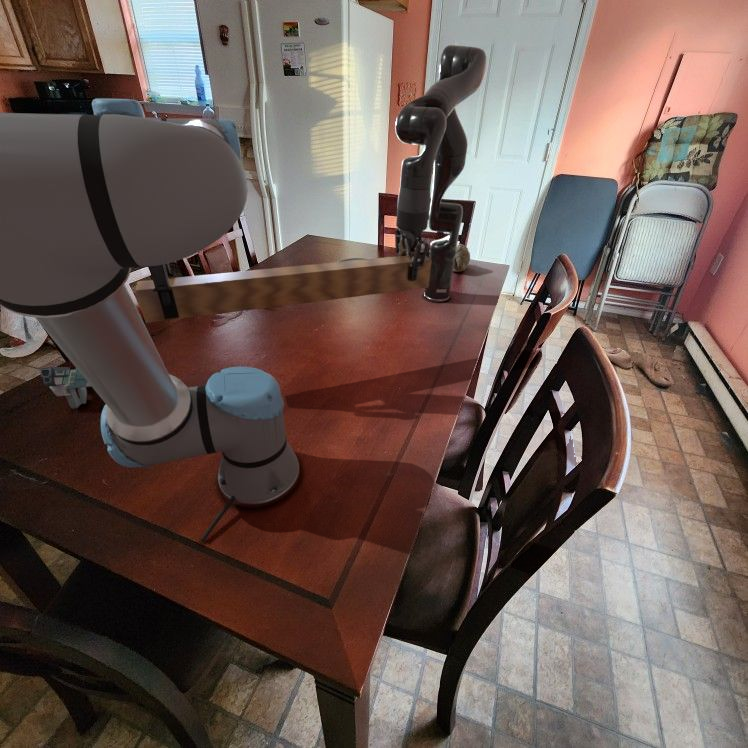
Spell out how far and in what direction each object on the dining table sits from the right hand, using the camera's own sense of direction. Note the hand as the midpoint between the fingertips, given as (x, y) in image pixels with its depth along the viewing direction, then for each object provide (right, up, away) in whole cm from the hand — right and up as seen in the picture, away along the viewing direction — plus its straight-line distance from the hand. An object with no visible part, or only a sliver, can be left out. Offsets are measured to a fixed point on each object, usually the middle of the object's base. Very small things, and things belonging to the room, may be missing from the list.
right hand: (407, 275), depth 107 cm
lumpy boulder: (+27, +20, +73) cm, 80 cm away
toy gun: (-78, -32, -9) cm, 85 cm away
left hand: (-53, -12, -17) cm, 57 cm away
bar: (-26, -7, -7) cm, 28 cm away
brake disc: (-15, +15, +63) cm, 66 cm away
